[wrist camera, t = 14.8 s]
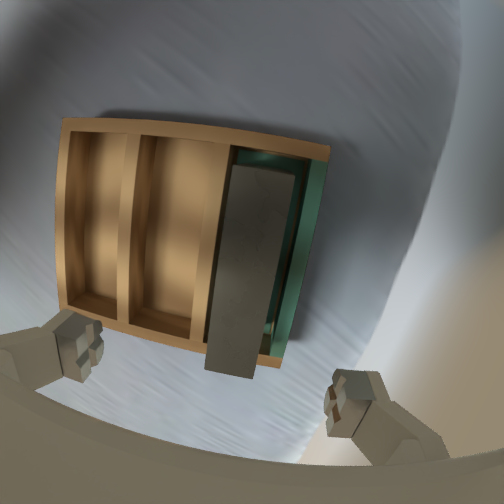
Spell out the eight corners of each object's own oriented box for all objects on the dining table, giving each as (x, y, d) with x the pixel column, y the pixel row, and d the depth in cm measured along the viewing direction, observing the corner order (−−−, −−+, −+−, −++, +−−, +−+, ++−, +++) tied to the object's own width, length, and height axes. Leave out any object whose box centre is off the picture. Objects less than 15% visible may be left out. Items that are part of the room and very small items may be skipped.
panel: (260, 323, 25) (252, 379, 18) (223, 316, 25) (204, 369, 18) (291, 170, 21) (295, 175, 15) (248, 162, 22) (232, 164, 15)
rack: (280, 340, 27) (279, 368, 23) (82, 294, 27) (60, 312, 24) (323, 148, 22) (331, 146, 18) (90, 120, 23) (62, 117, 19)
